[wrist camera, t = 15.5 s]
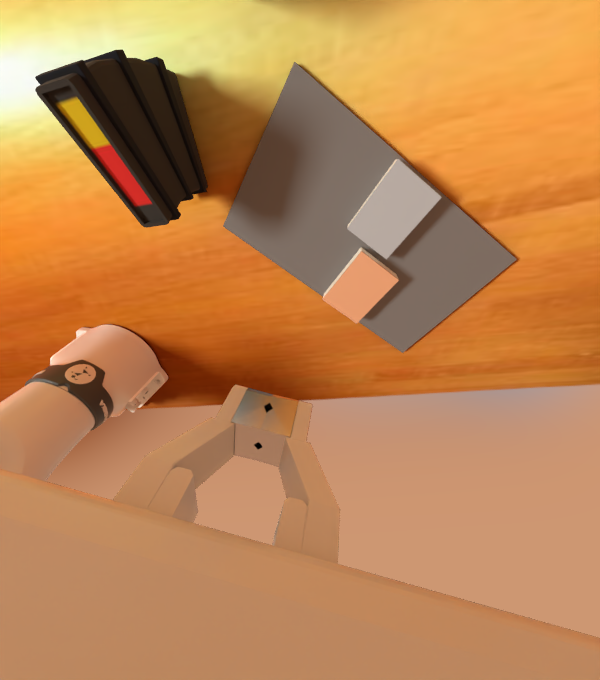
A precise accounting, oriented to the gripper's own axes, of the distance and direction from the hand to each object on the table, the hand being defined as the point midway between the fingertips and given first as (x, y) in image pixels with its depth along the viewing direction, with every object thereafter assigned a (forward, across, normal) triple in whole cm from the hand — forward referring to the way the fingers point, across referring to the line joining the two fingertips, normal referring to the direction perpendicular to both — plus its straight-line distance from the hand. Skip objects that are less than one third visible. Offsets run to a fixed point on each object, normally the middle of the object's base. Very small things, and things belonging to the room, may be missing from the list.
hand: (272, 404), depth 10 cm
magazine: (+29, +19, -6) cm, 36 cm away
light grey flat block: (+27, -9, -3) cm, 29 cm away
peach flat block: (+27, -8, +6) cm, 29 cm away
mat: (+29, -4, 0) cm, 29 cm away
